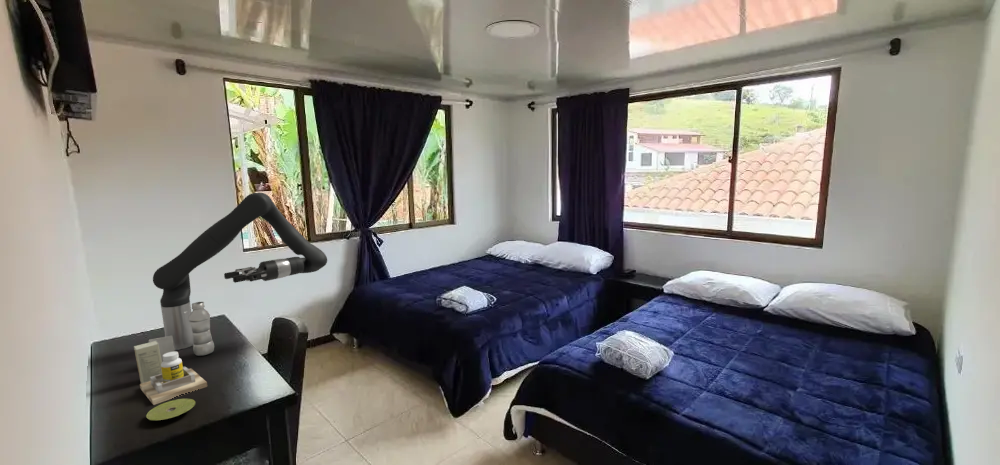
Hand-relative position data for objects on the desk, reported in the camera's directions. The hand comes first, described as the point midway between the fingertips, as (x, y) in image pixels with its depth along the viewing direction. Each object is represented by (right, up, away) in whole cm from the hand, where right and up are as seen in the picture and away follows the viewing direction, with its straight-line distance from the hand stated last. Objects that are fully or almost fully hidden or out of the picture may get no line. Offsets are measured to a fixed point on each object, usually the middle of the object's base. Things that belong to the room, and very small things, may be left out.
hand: (228, 278), depth 159 cm
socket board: (-7, -33, -18) cm, 38 cm away
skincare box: (-18, -33, -12) cm, 39 cm away
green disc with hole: (+5, -36, -34) cm, 49 cm away
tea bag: (-23, -31, 0) cm, 39 cm away
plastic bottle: (-14, -30, +8) cm, 34 cm away
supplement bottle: (-6, -32, -18) cm, 37 cm away
